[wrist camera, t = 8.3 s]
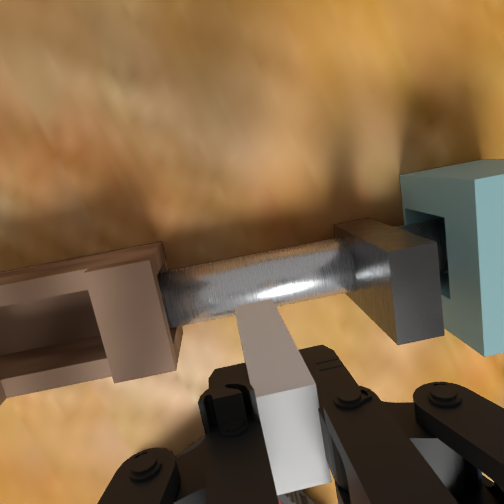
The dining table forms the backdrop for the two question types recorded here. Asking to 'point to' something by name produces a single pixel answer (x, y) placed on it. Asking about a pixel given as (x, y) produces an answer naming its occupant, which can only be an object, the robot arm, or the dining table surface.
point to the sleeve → (85, 321)
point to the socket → (466, 245)
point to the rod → (327, 278)
